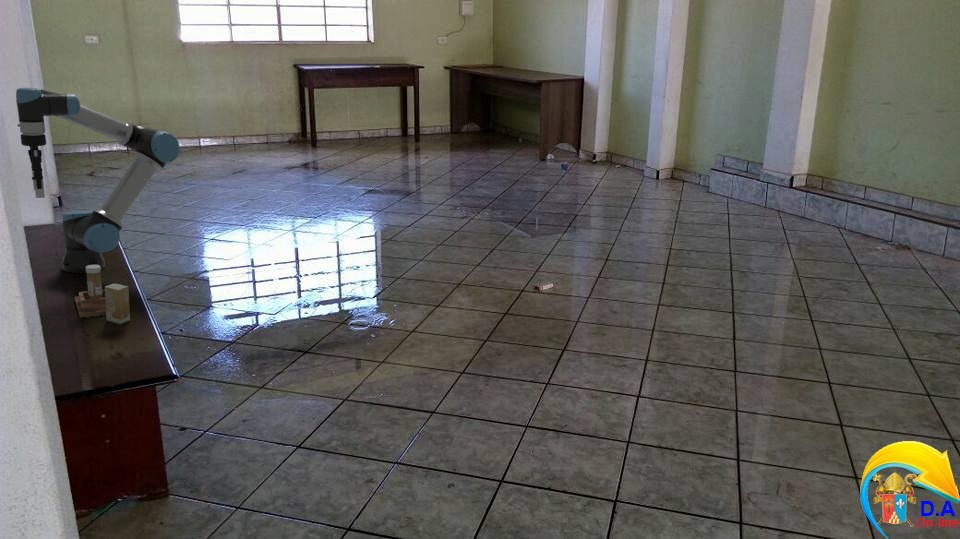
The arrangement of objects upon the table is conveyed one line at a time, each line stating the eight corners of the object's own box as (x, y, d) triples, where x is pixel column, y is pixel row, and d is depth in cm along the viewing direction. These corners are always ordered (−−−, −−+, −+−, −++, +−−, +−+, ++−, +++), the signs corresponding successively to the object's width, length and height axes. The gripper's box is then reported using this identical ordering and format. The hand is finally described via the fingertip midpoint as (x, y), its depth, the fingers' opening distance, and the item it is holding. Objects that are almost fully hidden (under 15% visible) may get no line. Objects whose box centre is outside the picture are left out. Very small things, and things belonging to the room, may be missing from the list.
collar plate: (75, 300, 262) (73, 288, 261) (112, 296, 268) (111, 285, 267) (79, 318, 247) (78, 305, 246) (119, 313, 254) (118, 301, 252)
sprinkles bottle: (104, 304, 257) (101, 267, 253) (89, 305, 254) (86, 268, 250) (102, 300, 260) (99, 263, 256) (88, 301, 258) (84, 264, 254)
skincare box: (106, 320, 247) (103, 286, 243) (116, 316, 251) (113, 282, 247) (121, 324, 245) (118, 289, 241) (131, 320, 249) (128, 286, 245)
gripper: (19, 128, 266) (25, 187, 272) (21, 139, 246) (28, 201, 252) (43, 128, 270) (49, 186, 276) (47, 138, 250) (53, 200, 256)
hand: (39, 193), depth 264 cm, fingers open, 13 cm apart
